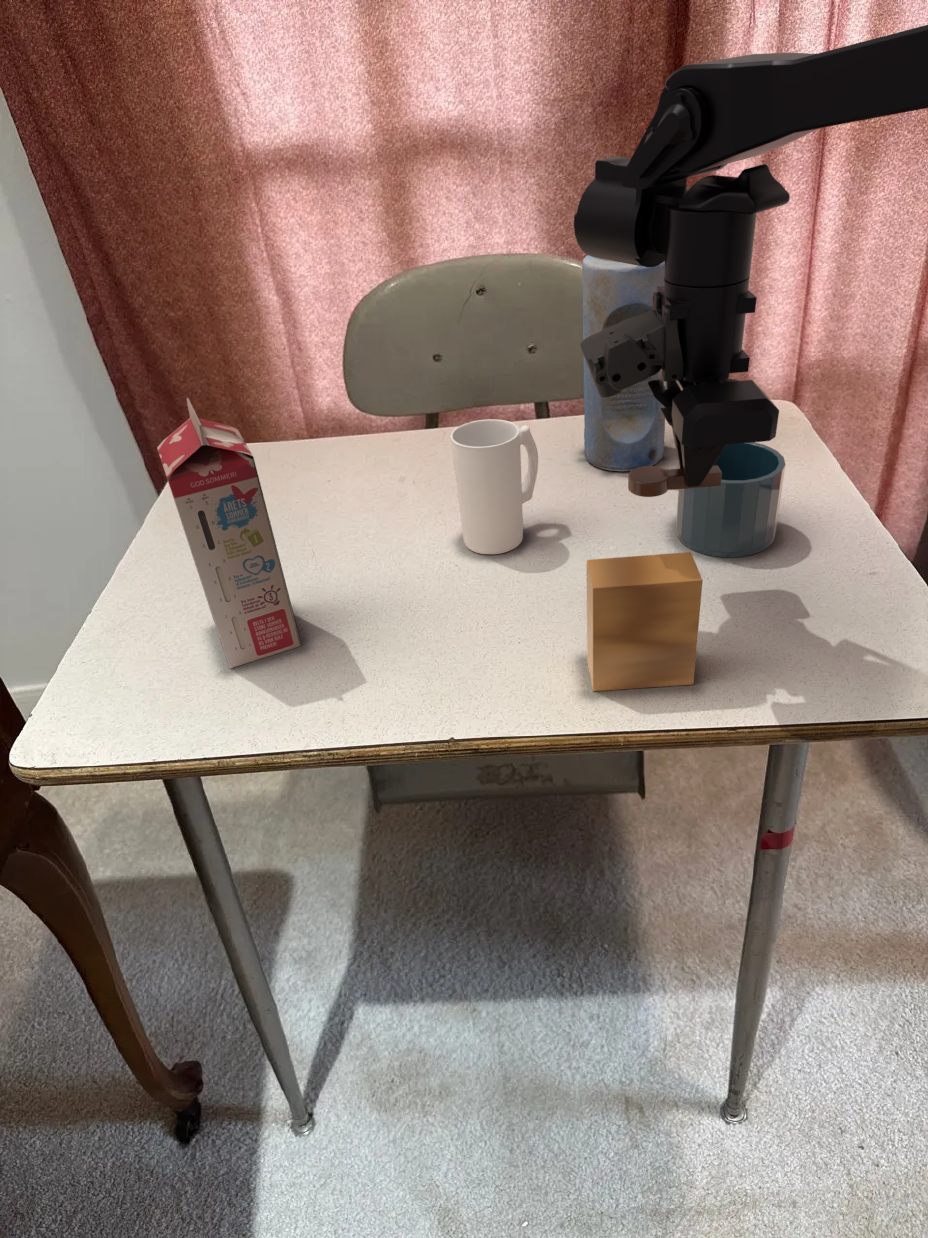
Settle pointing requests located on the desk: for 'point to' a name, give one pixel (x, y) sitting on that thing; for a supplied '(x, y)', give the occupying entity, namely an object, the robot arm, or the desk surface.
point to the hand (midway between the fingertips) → (690, 481)
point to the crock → (734, 504)
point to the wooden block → (642, 621)
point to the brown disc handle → (665, 480)
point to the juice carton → (230, 538)
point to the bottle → (632, 418)
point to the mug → (492, 482)
